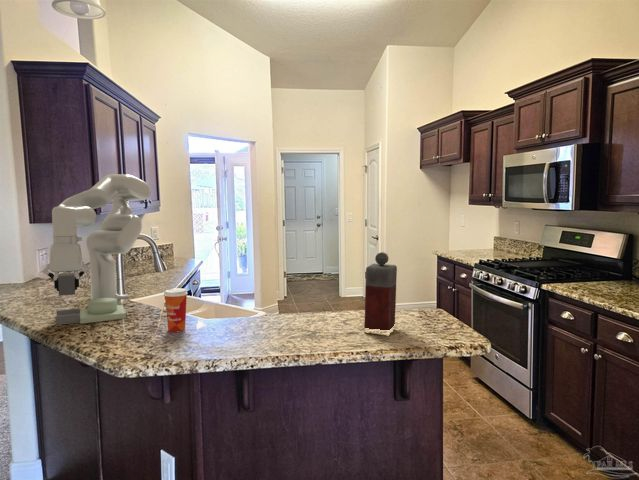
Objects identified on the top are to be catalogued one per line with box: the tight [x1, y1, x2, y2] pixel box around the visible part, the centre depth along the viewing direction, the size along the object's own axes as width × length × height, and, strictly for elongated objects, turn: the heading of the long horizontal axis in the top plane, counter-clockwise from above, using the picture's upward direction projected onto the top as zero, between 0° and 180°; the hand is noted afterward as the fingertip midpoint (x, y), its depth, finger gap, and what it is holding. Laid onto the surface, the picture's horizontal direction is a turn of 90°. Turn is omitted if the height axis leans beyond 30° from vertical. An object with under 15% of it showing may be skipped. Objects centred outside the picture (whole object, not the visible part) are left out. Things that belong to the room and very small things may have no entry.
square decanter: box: [364, 251, 398, 330], centre depth 146 cm, size 9×11×28 cm
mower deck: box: [55, 298, 127, 326], centre depth 157 cm, size 22×14×6 cm, turn 120°
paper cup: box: [163, 287, 189, 333], centre depth 143 cm, size 8×8×14 cm
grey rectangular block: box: [58, 272, 76, 297], centre depth 152 cm, size 5×6×7 cm
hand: (67, 289), depth 152 cm, fingers closed on grey rectangular block, 5 cm apart
